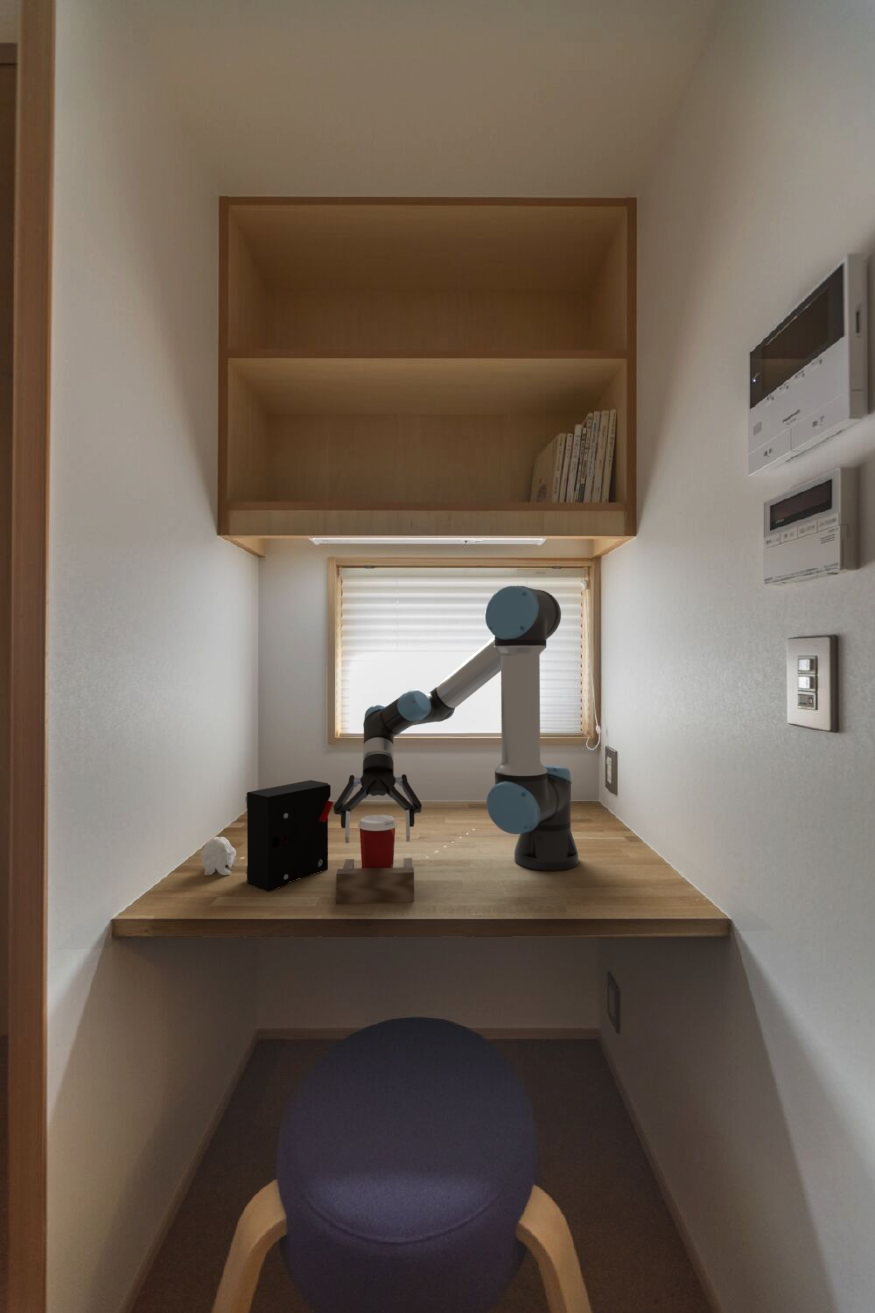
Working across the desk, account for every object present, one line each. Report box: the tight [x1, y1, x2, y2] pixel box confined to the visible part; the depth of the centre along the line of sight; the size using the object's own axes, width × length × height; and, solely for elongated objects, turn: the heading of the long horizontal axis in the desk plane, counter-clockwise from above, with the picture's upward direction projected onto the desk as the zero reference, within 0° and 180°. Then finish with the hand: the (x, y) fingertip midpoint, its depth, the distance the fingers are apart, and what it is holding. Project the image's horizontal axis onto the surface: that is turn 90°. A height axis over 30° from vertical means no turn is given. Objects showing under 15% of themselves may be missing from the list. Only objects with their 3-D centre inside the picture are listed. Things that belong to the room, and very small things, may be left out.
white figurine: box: [200, 836, 238, 877], centre depth 151 cm, size 6×8×12 cm
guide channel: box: [335, 857, 415, 905], centre depth 143 cm, size 16×22×6 cm
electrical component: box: [245, 779, 334, 893], centre depth 147 cm, size 18×10×20 cm, turn 141°
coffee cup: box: [357, 814, 398, 868], centre depth 139 cm, size 8×8×15 cm
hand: (377, 839), depth 147 cm, fingers open, 13 cm apart
